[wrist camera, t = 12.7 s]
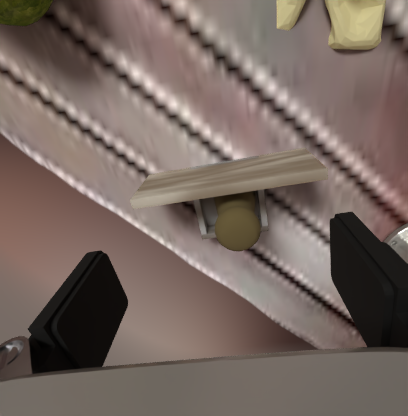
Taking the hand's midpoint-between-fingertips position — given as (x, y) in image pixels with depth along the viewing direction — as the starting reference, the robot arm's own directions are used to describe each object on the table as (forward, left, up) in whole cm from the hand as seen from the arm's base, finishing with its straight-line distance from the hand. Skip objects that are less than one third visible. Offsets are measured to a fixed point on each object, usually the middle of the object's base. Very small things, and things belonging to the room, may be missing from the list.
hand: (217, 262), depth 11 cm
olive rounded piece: (-5, +7, -27) cm, 28 cm away
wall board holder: (-5, +8, -28) cm, 29 cm away
